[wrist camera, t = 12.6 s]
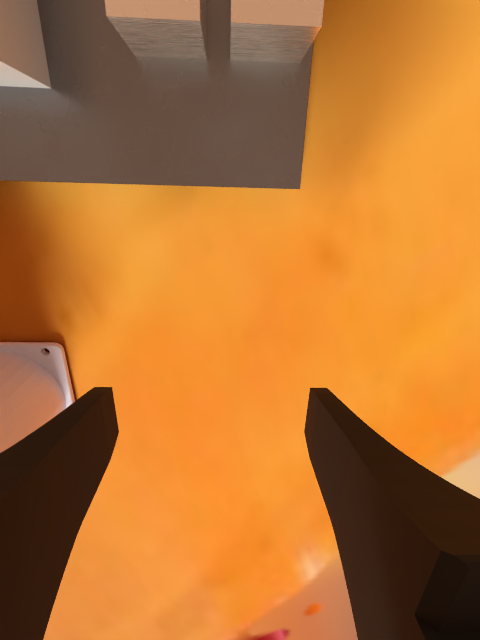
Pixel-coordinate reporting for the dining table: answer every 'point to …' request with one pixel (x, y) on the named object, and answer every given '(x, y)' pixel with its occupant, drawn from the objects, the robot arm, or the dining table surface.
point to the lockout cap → (22, 45)
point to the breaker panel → (165, 94)
